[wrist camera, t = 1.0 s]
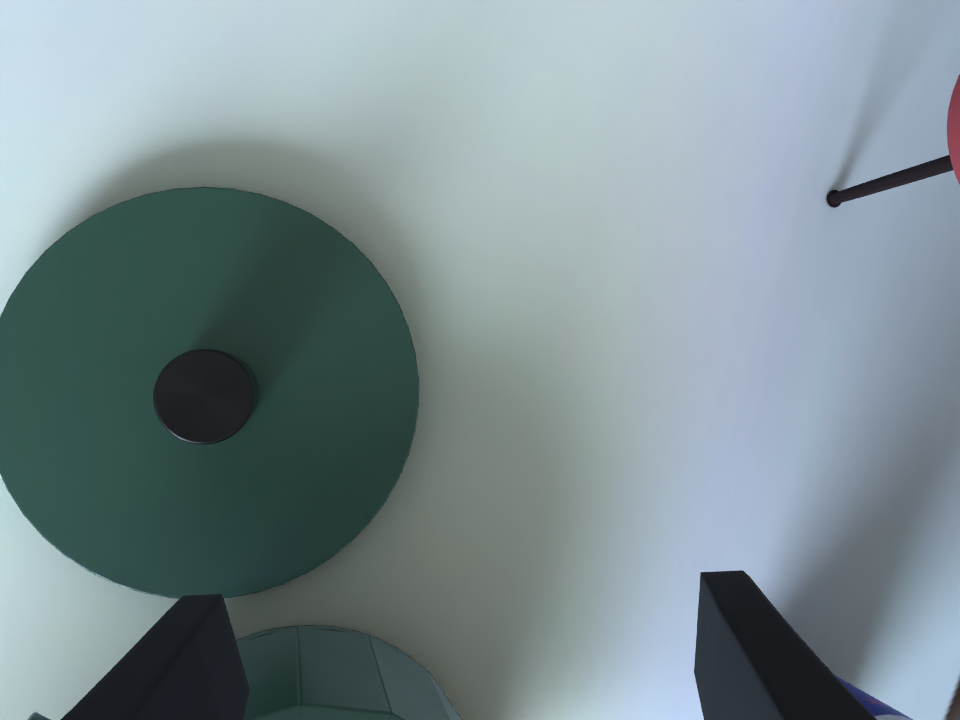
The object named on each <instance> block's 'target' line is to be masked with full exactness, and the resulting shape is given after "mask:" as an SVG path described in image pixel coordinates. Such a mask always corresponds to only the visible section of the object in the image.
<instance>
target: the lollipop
mask: <svg viewBox="0 0 960 720" xmlns="http://www.w3.org/2000/svg"><path fill="white" fill-rule="evenodd" d="M947 138H948V148H949V154H950V155H948V156H944V157H941V158H938V159H935V160H932V161H929V162H926V163H923V164H920V165H917V166H914V167H911V168H908V169H905V170H902V171H898V172H895V173H892V174H889V175H886V176H883V177H880V178H877V179H874V180H871V181H868V182H865V183H862V184H859V185H856V186H853V187H850V188H847V189H844V190H841V191H837V190H832V191H830V192H829V193H828V195H827V202H828V204H829V205H830V206H831V207H838V206H839V205H840V204H841V203H842V202H846V201H849V200H853V199H856V198H860V197H863V196H867V195H870V194H874V193H877V192H881V191H884V190H887V189H891V188H894V187H898V186H901V185H904V184H908V183H911V182H915V181H918V180H921V179H925V178H928V177H932V176H935V175H938V174H942V173H945V172H948V171H952V170H954V172H955V175H956V178H957V180H958V182H959V184H960V75H959V77H958V79H957V82H956V84H955V87H954V90H953V93H952V97H951V100H950V105H949V110H948V119H947Z"/></svg>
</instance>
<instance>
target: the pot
mask: <svg viewBox="0 0 960 720" xmlns="http://www.w3.org/2000/svg"><path fill="white" fill-rule="evenodd" d="M236 643H237V647H238V650H239V653H240V657H241V660H242V664H243V667H244V670H245V674H246V677H247V681H248V684H249V687H250V692H249V697H248V701H247V706H246V711H245V715H244V720H461V718H460V717H459V715H458V714H457V712H456V711H455V709H454V708H453V707H452V705H451V704H450V702H449V700H448V699H447V697H446V695H445V694H444V692H443V691H442V689H441V688H440V687H439V686H438V684H437V683H436V682H435V681H434V679H433V678H432V676H431V675H430V673H429V672H428V671H427V670H426V669H425V668H424V667H422V666H421V665H419V664H418V663H417V662H416V661H414V660H413V659H412V658H410V657H409V656H407V655H406V654H405V653H403V652H402V651H400V650H399V649H397V648H396V647H394V646H392V645H390V644H388V643H386V642H384V641H382V640H380V639H378V638H375V637H372V636H369V635H366V634H363V633H360V632H357V631H354V630H348V629H343V628H338V627H332V626H314V625H306V626H292V627H283V628H278V629H273V630H268V631H263V632H259V633H256V634H253V635H250V636H247V637H244V638H241V639H238V640H236ZM28 720H50V719H48V718H46V717H44V716H42V715H40V714H38V713H36V712H34V713H32V715H31V716H30V717H29V719H28Z"/></svg>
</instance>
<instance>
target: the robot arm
mask: <svg viewBox="0 0 960 720" xmlns="http://www.w3.org/2000/svg"><path fill="white" fill-rule="evenodd" d="M694 674H695V678H696V683H697V688H698V693H699V697H700V702H701V707H702V712H703V716H704V720H877V719H876V718H875V717H874V716H873V715H872V714H871V713H870V712H869V711H868V710H867V709H866V708H865V707H864V706H863V705H862V704H861V703H860V702H859V701H858V699H857V698H856V697H855V696H854V695H853V694H852V693H851V692H850V691H849V690H848V689H847V688H846V687H845V686H844V685H843V684H842V683H841V682H840V680H839V679H838V678H837V677H836V676H835V675H834V674H833V673H832V672H831V671H830V670H829V669H828V668H827V667H826V665H825V664H824V663H823V662H822V661H821V660H820V659H819V658H818V657H817V656H816V655H815V653H814V652H813V651H812V650H811V649H810V648H809V647H808V646H807V644H806V643H805V642H804V641H803V640H802V639H801V638H800V636H799V635H798V634H797V633H796V632H795V631H794V630H793V628H792V627H791V626H790V625H789V624H788V623H787V621H786V620H785V619H784V618H783V617H782V615H781V614H780V613H779V612H778V611H777V610H776V608H775V607H774V606H773V605H772V603H771V602H770V601H769V600H768V599H767V597H766V596H765V595H764V594H763V593H762V591H761V590H760V589H759V588H758V586H757V585H756V584H755V583H754V581H753V580H752V579H751V578H750V576H748V575H747V574H746V573H745V572H744V571H721V572H701V576H700V592H699V607H698V622H697V638H696V653H695V668H694ZM249 692H250V687H249V684H248V681H247V677H246V674H245V670H244V667H243V664H242V660H241V657H240V653H239V650H238V647H237V643H236V640H235V636H234V633H233V629H232V626H231V623H230V619H229V616H228V612H227V609H226V606H225V602H224V599H223V595H222V594H208V595H186V596H182V597H181V598H180V599H179V600H178V601H177V602H176V603H175V604H174V605H173V606H172V607H171V608H170V609H169V610H168V611H167V612H166V613H165V614H164V615H163V616H162V617H161V618H160V620H159V621H158V622H157V623H156V624H155V625H154V626H153V627H152V628H151V629H150V630H149V631H148V632H147V633H146V634H145V635H144V636H143V637H142V638H141V639H140V640H139V641H138V642H137V643H136V644H135V646H134V647H133V648H132V649H131V650H130V651H129V652H128V653H127V654H126V655H125V656H124V657H123V658H122V659H121V660H120V661H119V662H118V663H117V664H116V665H115V666H114V667H113V668H112V669H111V670H110V671H109V672H108V673H107V674H106V675H105V676H104V677H103V678H102V679H101V680H100V681H99V682H98V683H97V684H96V685H95V686H94V687H93V688H92V689H91V690H90V691H89V692H88V694H87V695H86V696H85V697H84V698H83V699H82V700H81V701H80V702H79V703H78V704H77V705H76V706H75V707H74V708H73V709H72V710H70V711H69V712H68V713H67V714H66V715H65V716H64V717H63V718H62V719H61V720H244V715H245V711H246V706H247V701H248V697H249Z"/></svg>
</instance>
